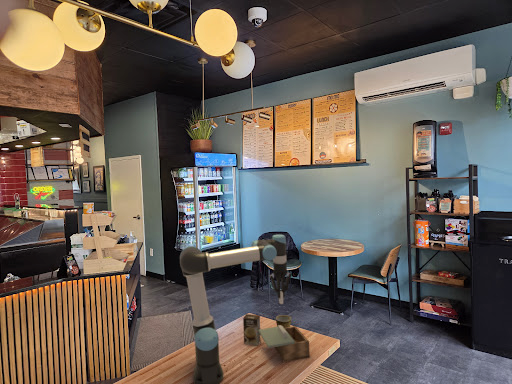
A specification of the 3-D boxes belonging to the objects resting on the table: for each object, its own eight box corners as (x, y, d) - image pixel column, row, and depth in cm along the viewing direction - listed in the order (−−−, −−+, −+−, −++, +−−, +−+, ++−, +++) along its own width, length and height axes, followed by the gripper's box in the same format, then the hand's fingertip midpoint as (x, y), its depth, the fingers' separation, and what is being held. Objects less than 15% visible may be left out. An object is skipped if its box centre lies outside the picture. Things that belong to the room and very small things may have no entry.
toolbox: (284, 362, 178) (283, 345, 177) (272, 344, 197) (272, 329, 197) (309, 357, 182) (309, 341, 181) (296, 340, 201) (295, 326, 201)
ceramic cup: (294, 335, 208) (294, 319, 207) (280, 338, 204) (279, 322, 204) (285, 326, 220) (284, 312, 219) (271, 329, 216) (271, 314, 216)
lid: (268, 348, 175) (268, 340, 175) (258, 331, 195) (258, 324, 194) (294, 343, 179) (294, 335, 179) (282, 327, 198) (282, 321, 198)
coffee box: (243, 344, 199) (242, 318, 198) (247, 339, 205) (246, 313, 204) (258, 345, 196) (257, 319, 196) (261, 340, 202) (260, 314, 202)
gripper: (288, 259, 191) (289, 299, 192) (266, 261, 188) (268, 302, 189) (293, 262, 184) (294, 304, 185) (270, 265, 181) (272, 307, 182)
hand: (281, 303), depth 187 cm, fingers closed
